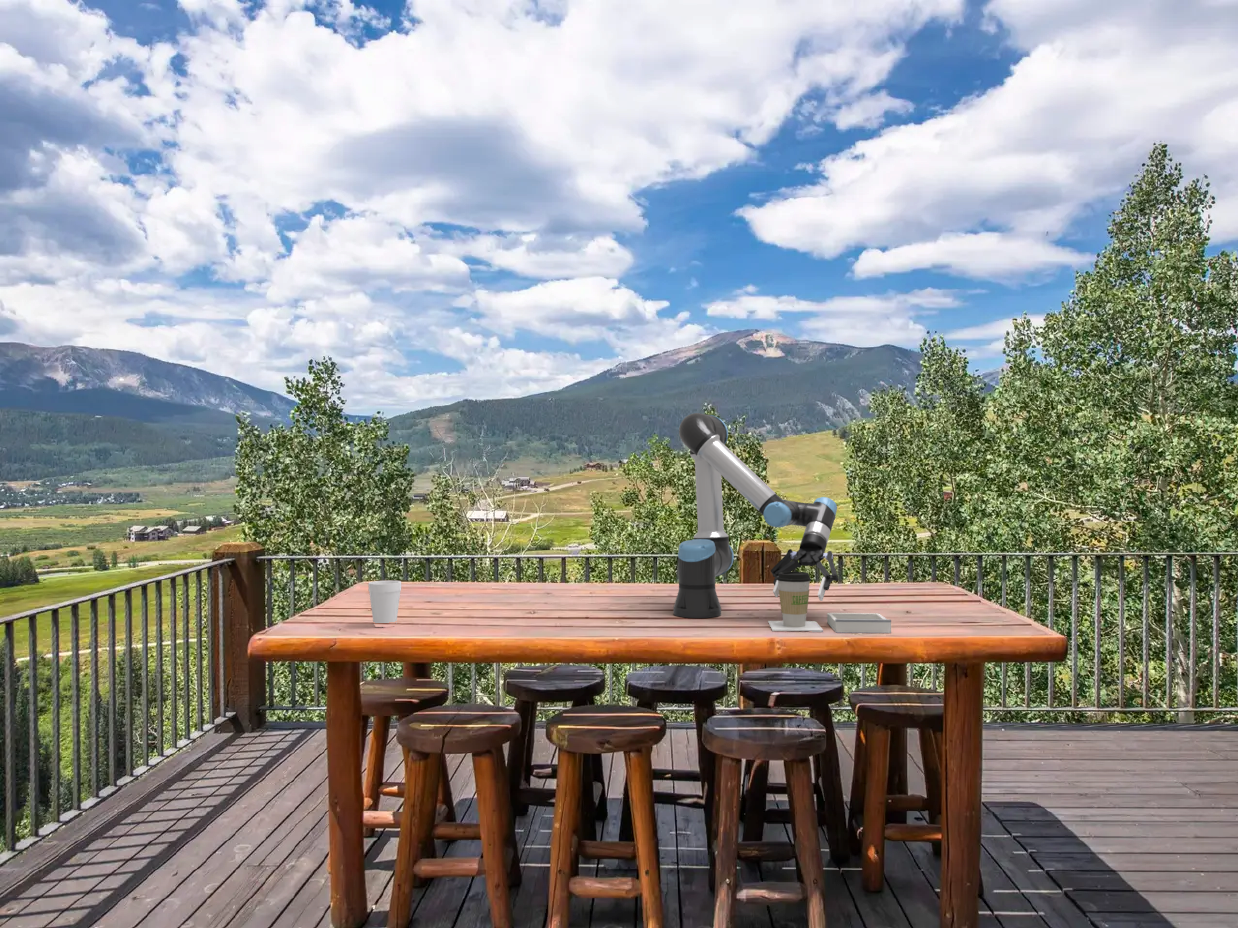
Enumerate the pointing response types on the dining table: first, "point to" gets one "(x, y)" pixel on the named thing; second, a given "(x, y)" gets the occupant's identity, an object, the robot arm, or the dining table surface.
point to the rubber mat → (808, 626)
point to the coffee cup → (794, 597)
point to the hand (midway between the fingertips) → (797, 596)
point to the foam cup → (384, 600)
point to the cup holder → (858, 623)
